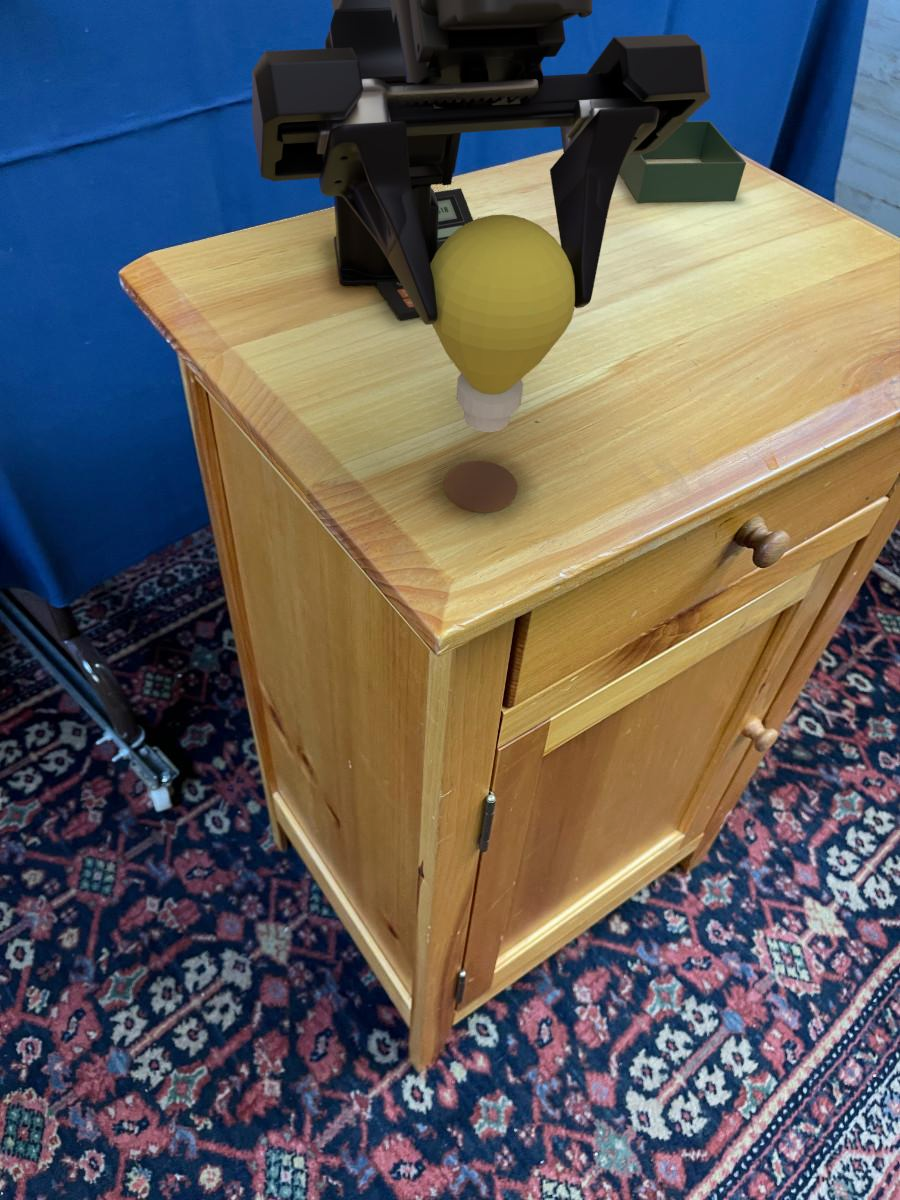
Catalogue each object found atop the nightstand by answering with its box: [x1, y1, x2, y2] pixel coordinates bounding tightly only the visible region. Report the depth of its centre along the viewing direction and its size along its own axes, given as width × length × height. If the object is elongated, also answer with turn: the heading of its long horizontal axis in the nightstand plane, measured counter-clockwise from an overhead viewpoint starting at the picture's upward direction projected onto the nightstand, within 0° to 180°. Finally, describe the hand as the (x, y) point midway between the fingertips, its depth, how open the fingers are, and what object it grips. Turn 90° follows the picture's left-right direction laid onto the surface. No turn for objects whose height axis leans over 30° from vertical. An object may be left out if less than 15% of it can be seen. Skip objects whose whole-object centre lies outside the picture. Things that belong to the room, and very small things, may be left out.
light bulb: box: [430, 213, 575, 433], centre depth 40 cm, size 7×7×10 cm
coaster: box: [443, 460, 519, 513], centre depth 47 cm, size 4×4×1 cm
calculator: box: [374, 187, 474, 322], centre depth 61 cm, size 9×12×3 cm
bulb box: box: [618, 120, 747, 204], centre depth 72 cm, size 8×8×3 cm
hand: (507, 313), depth 38 cm, fingers closed on light bulb, 6 cm apart
